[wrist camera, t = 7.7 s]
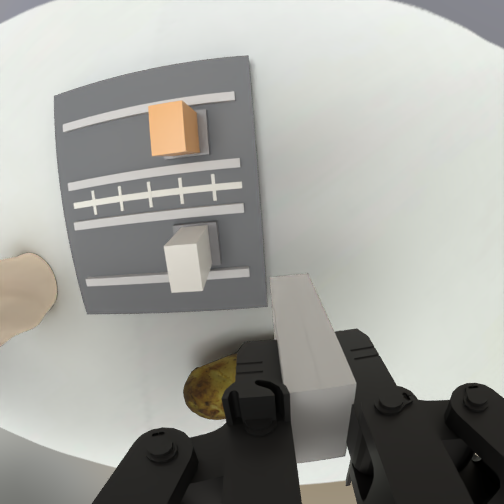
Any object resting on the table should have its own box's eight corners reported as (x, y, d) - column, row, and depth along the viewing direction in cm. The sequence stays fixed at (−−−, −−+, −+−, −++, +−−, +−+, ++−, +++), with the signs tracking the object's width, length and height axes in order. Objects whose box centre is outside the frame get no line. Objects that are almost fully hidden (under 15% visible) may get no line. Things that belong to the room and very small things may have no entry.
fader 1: (166, 159, 27) (141, 160, 20) (163, 116, 26) (137, 105, 19) (210, 154, 27) (197, 152, 20) (206, 110, 26) (193, 95, 19)
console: (94, 306, 33) (84, 317, 31) (63, 98, 26) (50, 95, 24) (266, 298, 33) (268, 309, 31) (248, 61, 26) (248, 53, 24)
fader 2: (180, 265, 30) (161, 295, 23) (174, 224, 29) (152, 244, 22) (221, 262, 30) (214, 292, 23) (217, 220, 29) (207, 239, 22)
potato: (296, 386, 37) (305, 433, 29) (192, 383, 37) (182, 429, 29) (304, 331, 34) (317, 375, 27) (188, 327, 34) (174, 370, 26)
